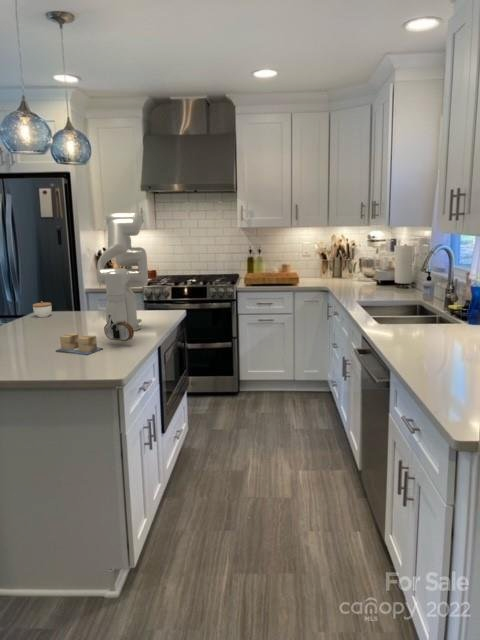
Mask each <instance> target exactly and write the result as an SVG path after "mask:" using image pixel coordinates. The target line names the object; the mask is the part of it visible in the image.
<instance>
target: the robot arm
mask: <svg viewBox="0 0 480 640" xmlns="http://www.w3.org/2000/svg"><path fill="white" fill-rule="evenodd" d="M105 220H106V225H107V248H106V249H105V250H104V251H103V252H102V254H100V257H99V258H98V259H97V260H98V261H97V265H96V266H97V269H96V277H97V282H98V283H99V284H100V285H101V286H105V291H106V299H107V300H106V301H107V302H106V304H105V323H106V324H108V327H110V328H111V329H112V330H113V338H115V339H120V333H119V330H118V323H121V322H124V323H128V324H130V325H131V326H132V328H133V331H134V332H135V331H139V330H141V329H142V328H141V325H139V324H140V323H142V319H141V318H138V315H137V314H138V313H137V302H136V295H135V293H134V291H133V290H132V289H131V288H143V287H146V286H148V284H149V271H148V257H147V251H146V249H144V247H140V246H138V247H137V246H135V247H132V238H131V237H132V236H133V237H136V236H138V235H139V234H140V232H141V229H142V228H141V227H142V223H143V221H142V216H141V214H140V213H139V212H138V211H130V212H129V211H126V212H123V211H121V212H120V211H119V212H118V211H117V212H116V211H115V212H111V213H108V214H107V215H106V217H105ZM112 259H115V263H116V265H117V267H116V268H115V267H114V268H112V267H111V268H105V266H106V264H107V263H108V262H109V261H111V260H112ZM118 266H119V268H118ZM124 267H138V268H124ZM114 325H115V326H116V327H115V326H114Z"/></svg>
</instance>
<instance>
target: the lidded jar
mask: <svg viewBox="0 0 480 640" xmlns="http://www.w3.org/2000/svg"><path fill="white" fill-rule="evenodd" d="M43 301H44V300H43ZM43 301H42V300H41V301H40V302H37V303H34V304H32V309H33V310H32V311H33V313H34V315H35V316H37V318H47V317H49V316H50V315H51V313H52V310H53V309H52V307H53V306H52V305H53V304H52V302H48V301H47V302H45V301H44V302H43Z"/></svg>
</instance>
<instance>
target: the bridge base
mask: <svg viewBox="0 0 480 640" xmlns="http://www.w3.org/2000/svg"><path fill="white" fill-rule="evenodd" d="M59 338H60V339H59V340H60V348H58V349H56V350H55V353H56V352H57V353H64V354H74V355H82V356H83V355H84V356H89V355H92V354H95V353H96V352H99V351H100V352H101V351H102V350H104V349H103V347H98V345H97V343H98V342H97V336H96V335H91V334H85V335H83V336H79V334H78V333H67V334H63V335H60V336H59Z"/></svg>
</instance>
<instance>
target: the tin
mask: <svg viewBox="0 0 480 640" xmlns="http://www.w3.org/2000/svg"><path fill="white" fill-rule="evenodd" d="M114 326H115V325H114ZM115 327H116V326H115ZM118 330H119V333H120V339H115V338H113V330H112V329H111V328H110V327H108V324H107V323H106V324H105V325H104V326H103V331H104V335H105V337H107V338H108V339H109V340H113V341H121V342H127V341H129V340H130V341H131V340H132V339H133V338H134V332H135V331H133V328H132V326H131V325H130V324H128V323H124V322H121V323H118Z"/></svg>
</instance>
